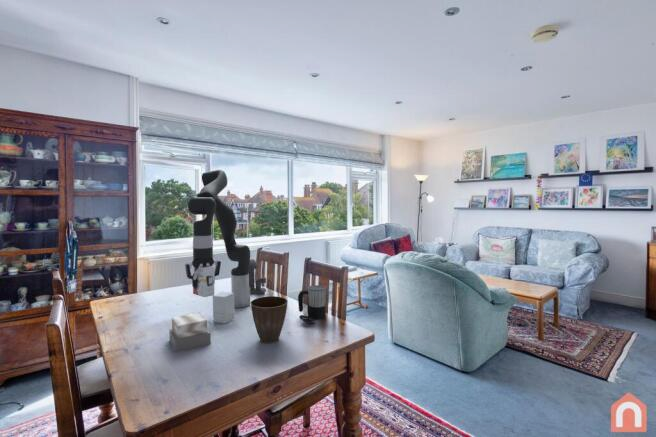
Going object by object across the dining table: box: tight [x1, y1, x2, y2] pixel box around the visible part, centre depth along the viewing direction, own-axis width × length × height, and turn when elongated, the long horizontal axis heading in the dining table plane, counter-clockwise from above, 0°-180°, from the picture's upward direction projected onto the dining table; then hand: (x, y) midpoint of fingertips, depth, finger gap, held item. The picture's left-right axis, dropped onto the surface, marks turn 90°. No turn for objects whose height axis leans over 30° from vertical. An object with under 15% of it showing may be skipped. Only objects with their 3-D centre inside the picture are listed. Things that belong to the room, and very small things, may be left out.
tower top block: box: [171, 312, 208, 339], centre depth 135 cm, size 11×11×5 cm
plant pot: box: [250, 295, 288, 344], centre depth 137 cm, size 15×15×16 cm
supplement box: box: [212, 291, 236, 324], centre depth 159 cm, size 7×7×13 cm
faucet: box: [249, 258, 267, 295], centre depth 210 cm, size 18×16×20 cm
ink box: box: [192, 265, 216, 298], centre depth 136 cm, size 9×5×12 cm, turn 51°
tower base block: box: [168, 328, 212, 353], centre depth 135 cm, size 13×13×5 cm
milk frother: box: [297, 284, 327, 325], centre depth 159 cm, size 14×16×15 cm
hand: (203, 287), depth 136 cm, fingers closed on ink box, 5 cm apart
